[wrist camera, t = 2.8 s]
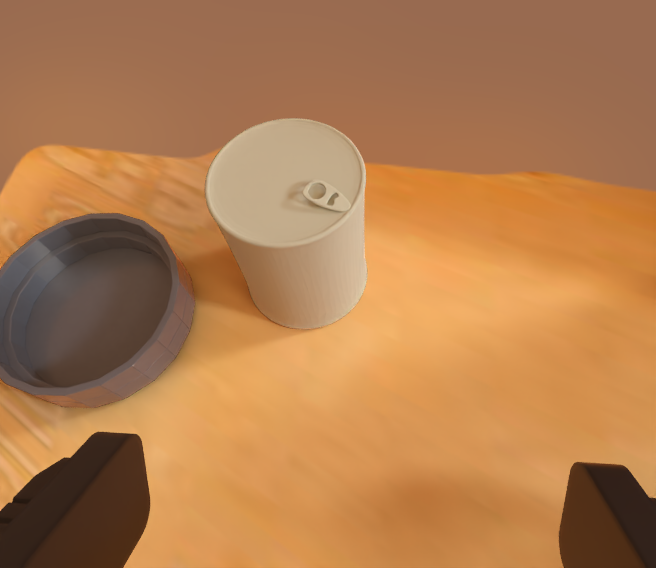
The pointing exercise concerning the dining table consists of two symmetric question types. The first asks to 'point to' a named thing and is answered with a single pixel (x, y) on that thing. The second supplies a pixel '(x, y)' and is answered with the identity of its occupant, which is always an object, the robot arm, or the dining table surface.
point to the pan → (92, 310)
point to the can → (293, 218)
